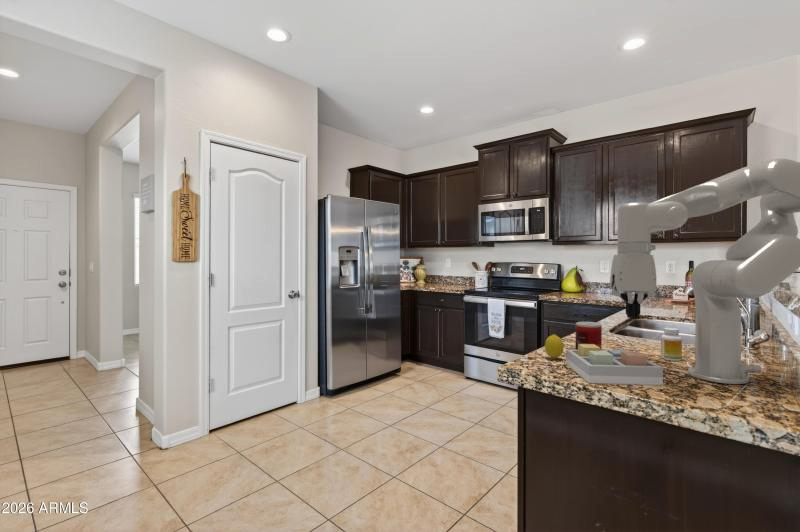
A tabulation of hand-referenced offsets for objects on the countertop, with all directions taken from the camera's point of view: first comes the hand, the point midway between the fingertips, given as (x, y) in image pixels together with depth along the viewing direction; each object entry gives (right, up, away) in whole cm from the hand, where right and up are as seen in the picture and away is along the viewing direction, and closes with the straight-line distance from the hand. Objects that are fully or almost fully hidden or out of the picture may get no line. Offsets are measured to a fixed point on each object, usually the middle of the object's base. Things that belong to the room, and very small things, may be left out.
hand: (632, 317), depth 102 cm
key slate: (+1, -14, +9) cm, 16 cm away
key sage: (-8, -13, +1) cm, 15 cm away
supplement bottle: (+25, -16, +20) cm, 35 cm away
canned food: (0, -16, +24) cm, 29 cm away
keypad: (-3, -16, +5) cm, 17 cm away
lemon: (-13, -16, +21) cm, 29 cm away
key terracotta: (0, -13, 0) cm, 13 cm away
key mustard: (-7, -12, +9) cm, 17 cm away
